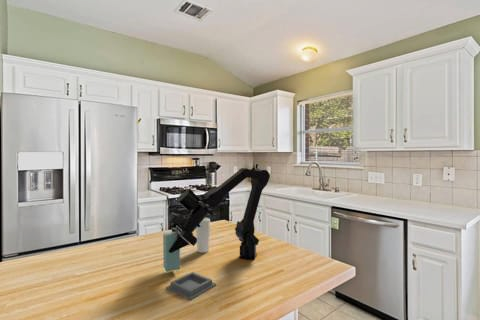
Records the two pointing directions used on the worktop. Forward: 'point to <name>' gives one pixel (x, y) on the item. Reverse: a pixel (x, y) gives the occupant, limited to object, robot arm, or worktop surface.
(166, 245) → the teal block
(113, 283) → the worktop surface
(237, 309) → the worktop surface
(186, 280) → the socket holder
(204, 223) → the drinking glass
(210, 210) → the robot arm
